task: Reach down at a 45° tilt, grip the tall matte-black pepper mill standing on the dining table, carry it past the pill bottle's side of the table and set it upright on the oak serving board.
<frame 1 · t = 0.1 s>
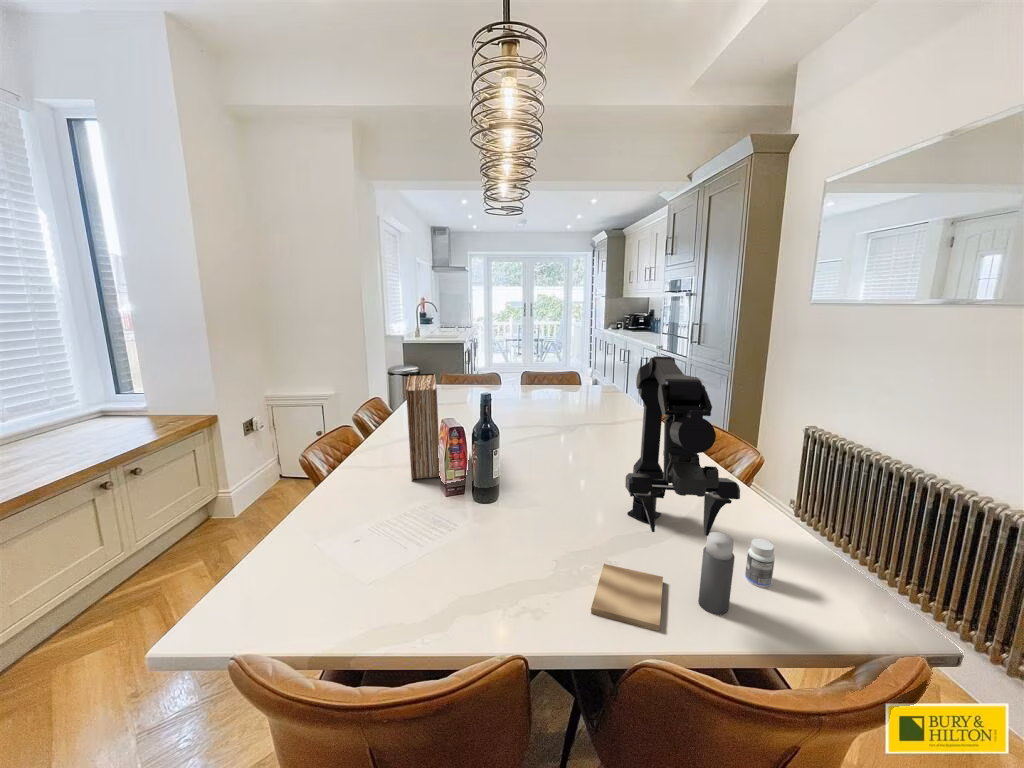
hand: (679, 533, 77), 15 cm above the table, tool pointing down, fingers open, 9 cm apart
serving board: (628, 596, 83), on the table
pepper mill: (713, 605, 81), on the table
pill bottle: (757, 581, 88), on the table
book: (425, 465, 148), on the table
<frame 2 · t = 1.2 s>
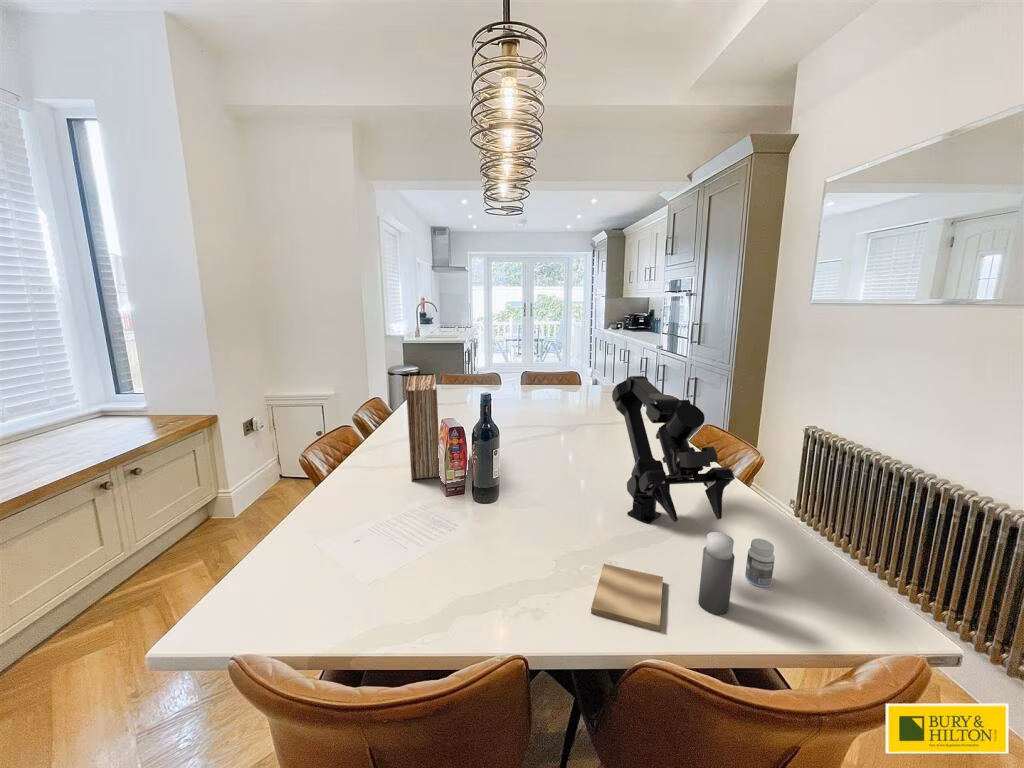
hand: (697, 520, 85), 13 cm above the table, tool tilted 45°, fingers open, 9 cm apart
nothing on the table moved.
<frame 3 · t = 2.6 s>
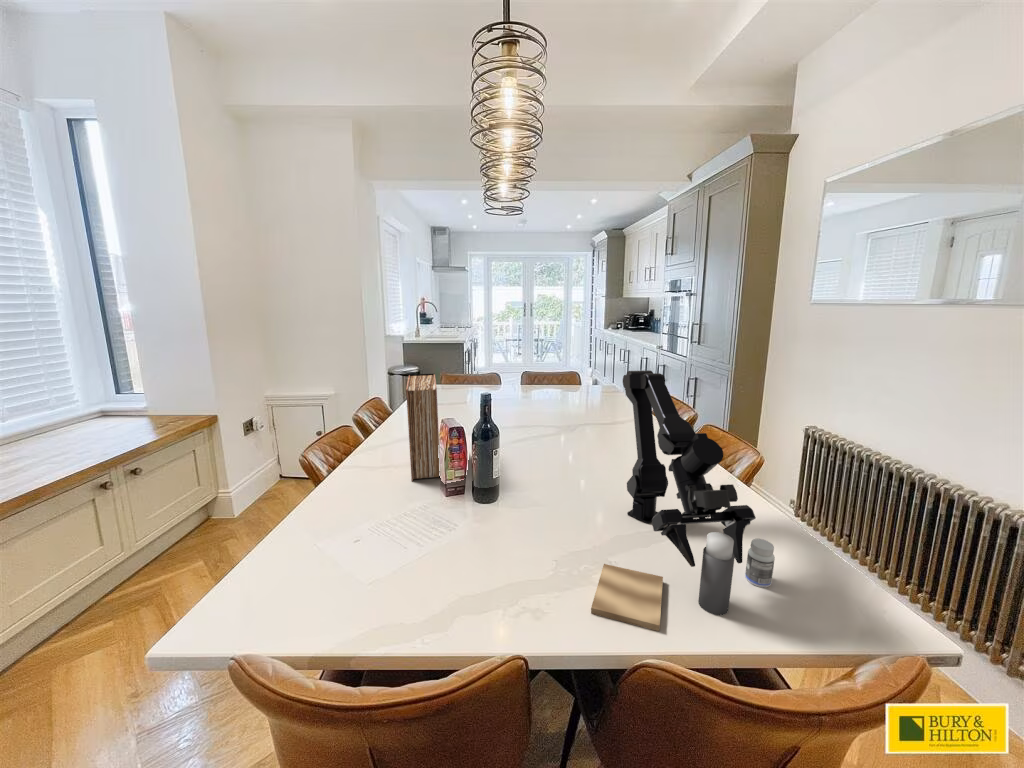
hand: (716, 564, 79), 8 cm above the table, tool tilted 45°, fingers open, 9 cm apart
nothing on the table moved.
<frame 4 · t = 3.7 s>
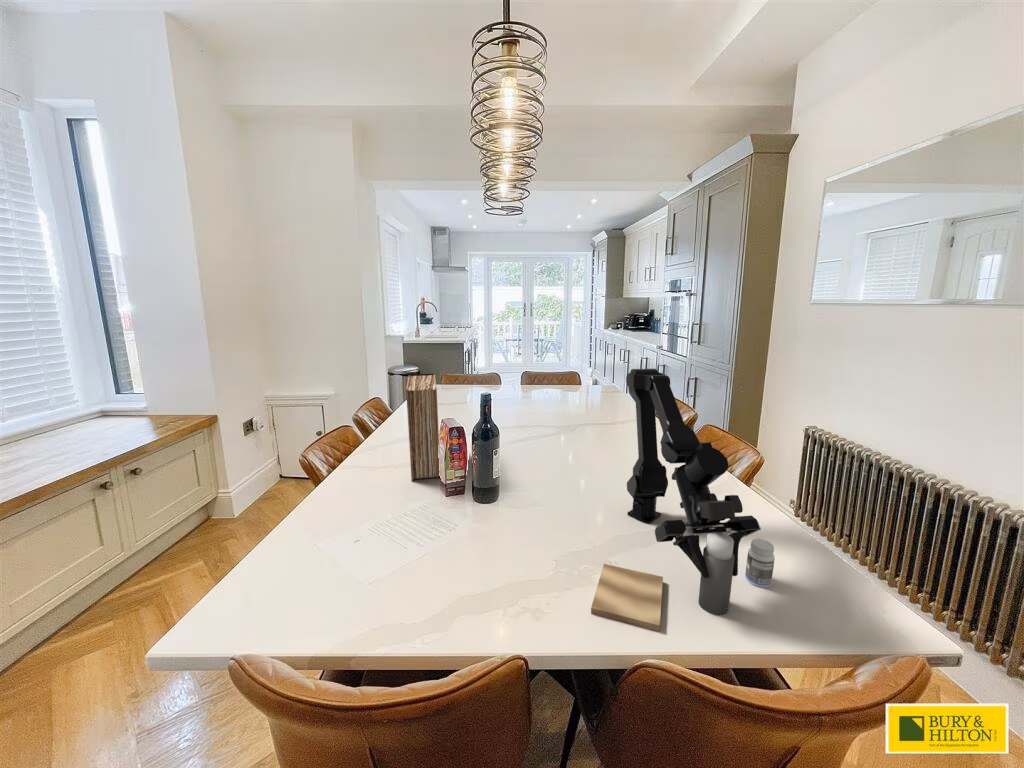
hand: (721, 576, 78), 7 cm above the table, tool tilted 45°, fingers closed on pepper mill, 5 cm apart
pepper mill: (713, 605, 81), on the table, touching gripper
everything else where it was.
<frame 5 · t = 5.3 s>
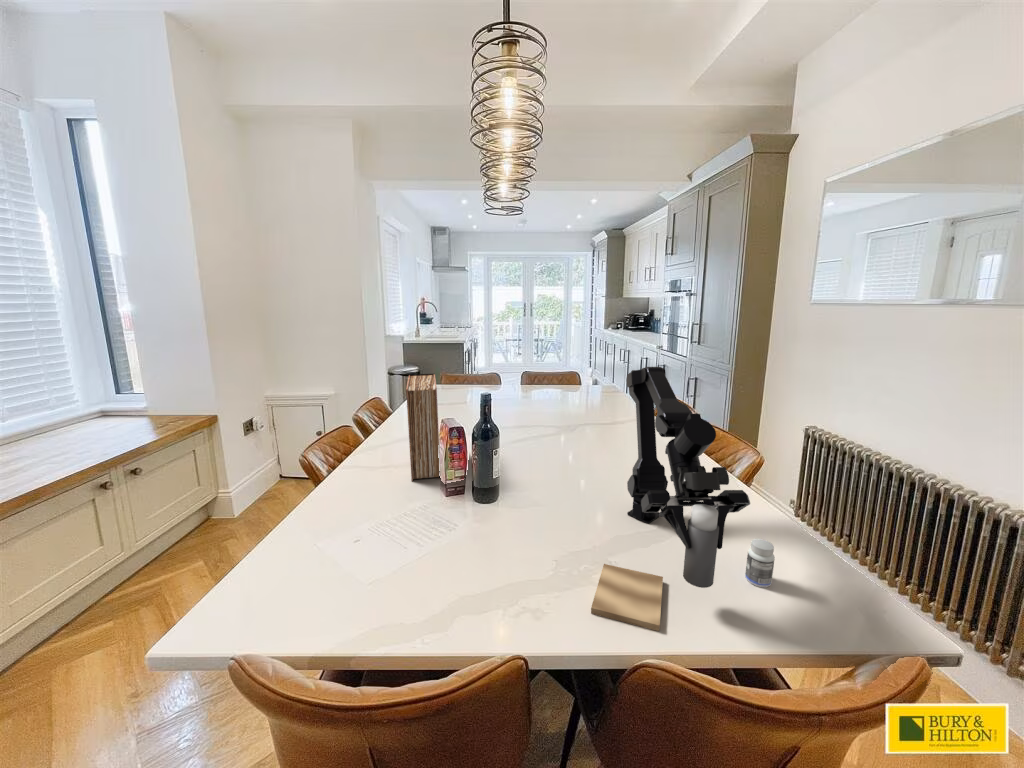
hand: (704, 548, 77), 13 cm above the table, tool tilted 45°, fingers closed on pepper mill, 5 cm apart
pepper mill: (698, 578, 79), point 6 cm above the table, touching gripper
everything else where it was.
when the fingers open (9 cm above the table, at t = 7.2 s): pepper mill drops 1 cm, resting on serving board.
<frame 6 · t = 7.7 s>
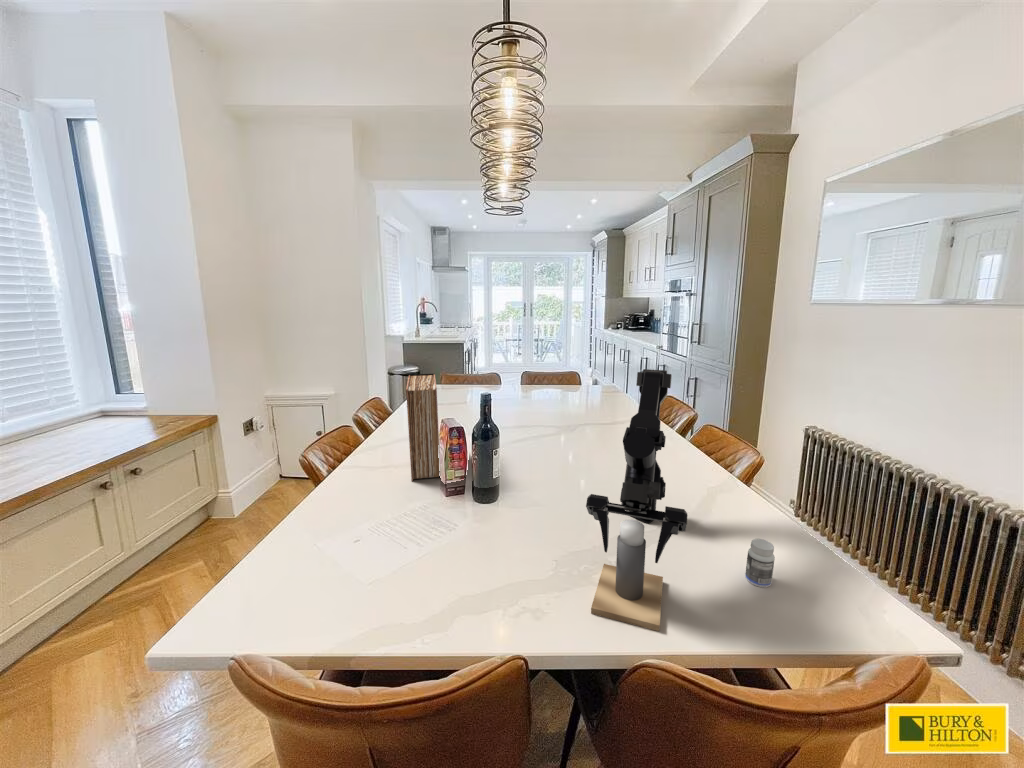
hand: (630, 557, 80), 10 cm above the table, tool tilted 45°, fingers open, 9 cm apart
pepper mill: (629, 591, 83), point 1 cm above the table, touching serving board
everything else where it was.
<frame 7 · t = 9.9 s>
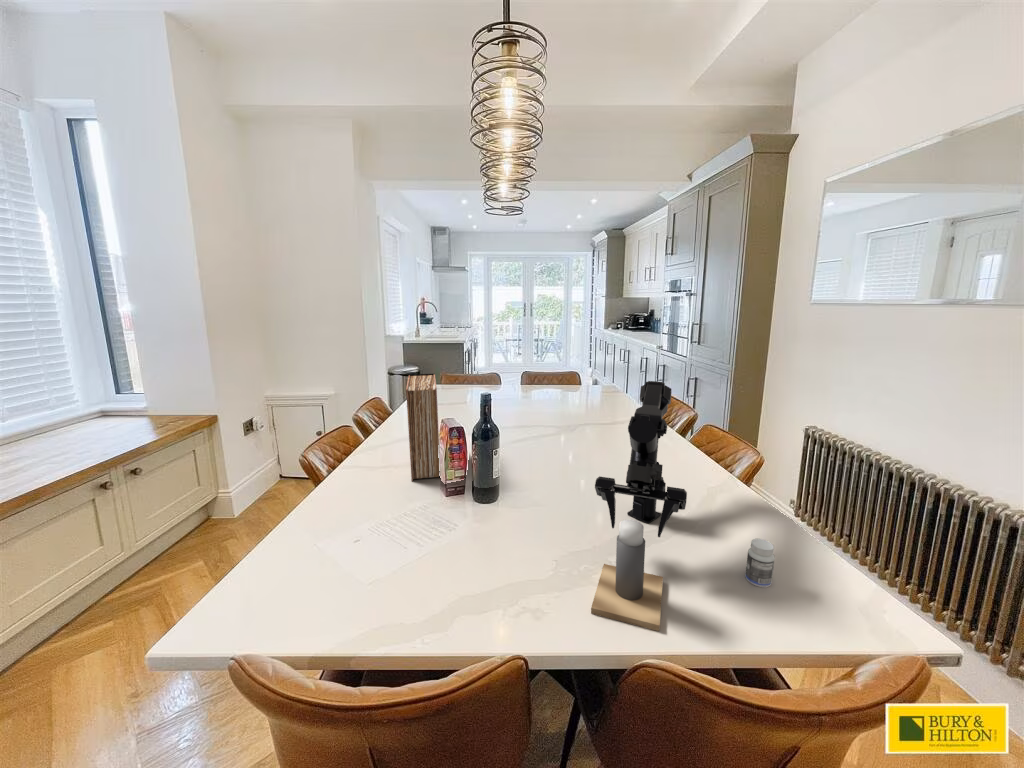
hand: (635, 532, 88), 9 cm above the table, tool tilted 45°, fingers open, 9 cm apart
nothing on the table moved.
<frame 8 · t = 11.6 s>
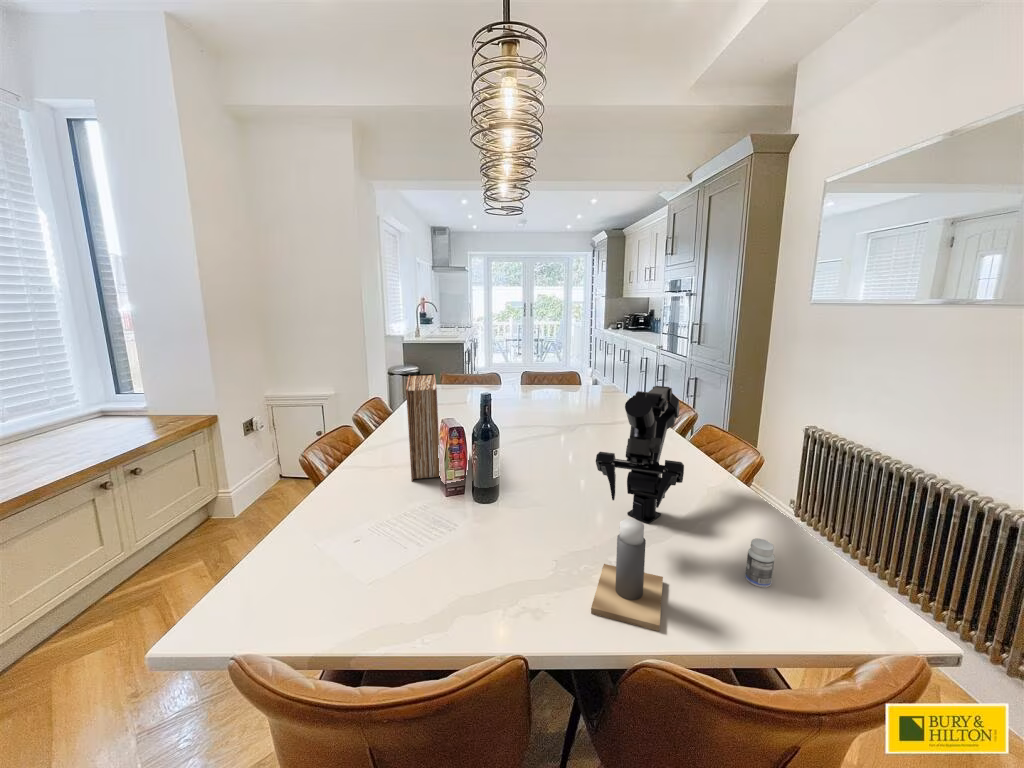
hand: (634, 503, 92), 14 cm above the table, tool tilted 45°, fingers open, 9 cm apart
nothing on the table moved.
at the end: pepper mill inside the target area on the serving board (0.1 cm from its centre), point 1.3 cm above the serving board's base; pepper mill tilted 1°; the gripper is holding nothing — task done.
